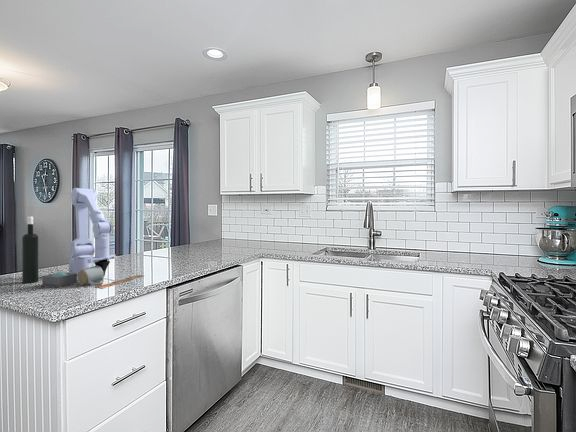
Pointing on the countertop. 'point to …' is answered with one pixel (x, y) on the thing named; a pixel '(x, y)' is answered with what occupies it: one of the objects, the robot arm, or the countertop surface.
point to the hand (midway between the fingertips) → (102, 276)
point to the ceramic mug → (91, 276)
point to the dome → (59, 274)
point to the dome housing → (59, 280)
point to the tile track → (119, 281)
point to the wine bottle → (30, 255)
